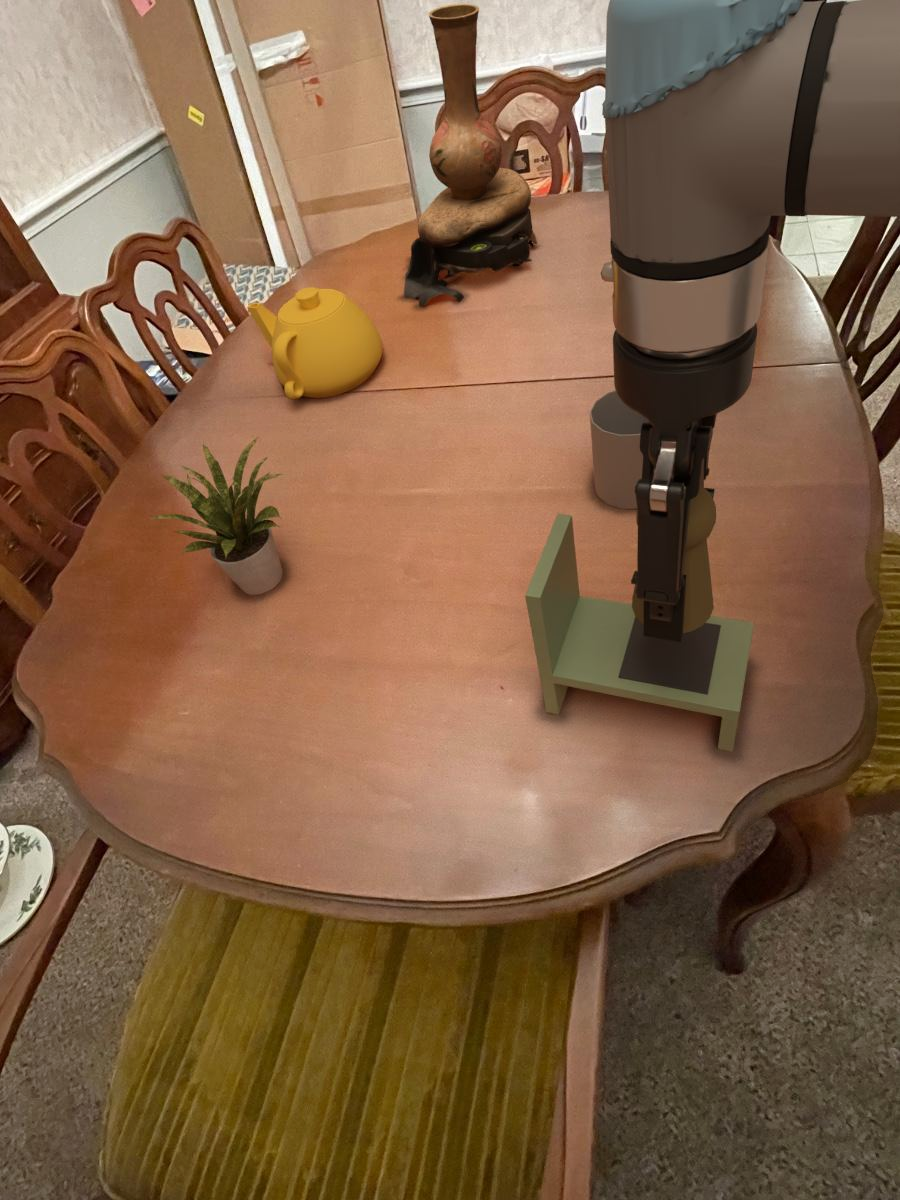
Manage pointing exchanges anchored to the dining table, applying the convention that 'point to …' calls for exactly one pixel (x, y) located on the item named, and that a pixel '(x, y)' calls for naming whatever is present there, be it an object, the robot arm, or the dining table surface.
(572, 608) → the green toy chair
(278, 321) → the teapot
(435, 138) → the vase
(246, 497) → the house plant
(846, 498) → the dining table surface
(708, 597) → the brown peg doll
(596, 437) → the cup
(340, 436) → the dining table surface
